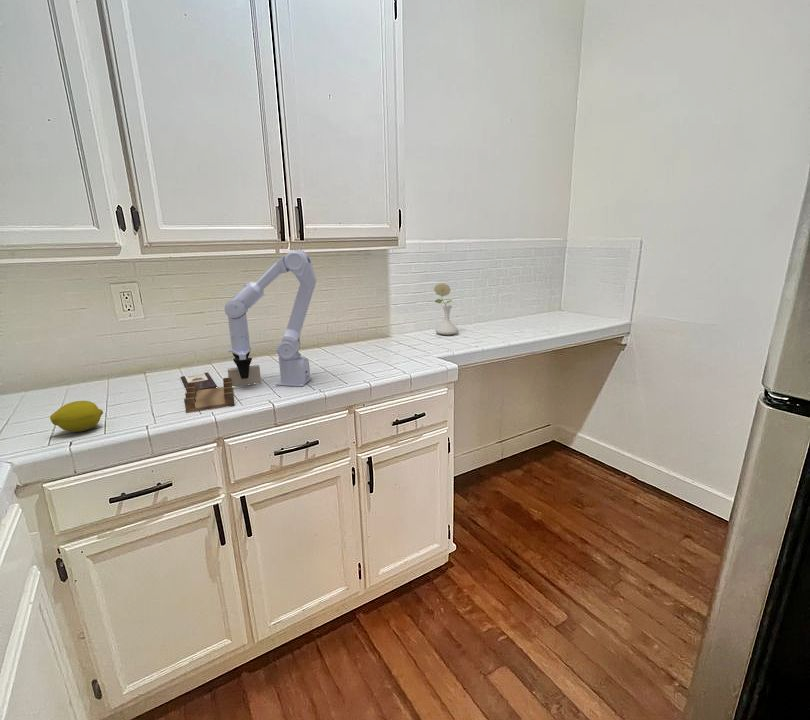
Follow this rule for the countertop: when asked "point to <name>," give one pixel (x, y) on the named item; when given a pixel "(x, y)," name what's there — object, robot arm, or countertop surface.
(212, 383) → the chocolate bar
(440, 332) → the flower in vase
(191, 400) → the pegged wooden tray
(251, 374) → the clay slab
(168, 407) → the countertop surface
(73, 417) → the lemon
